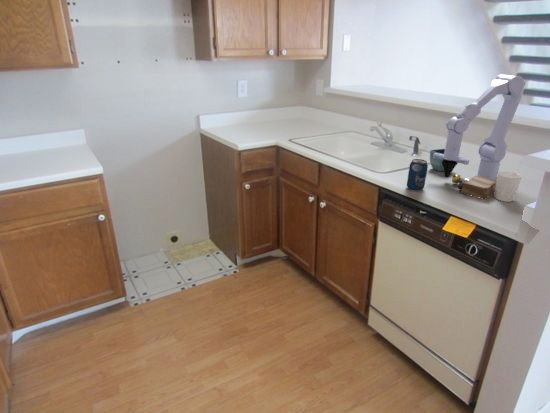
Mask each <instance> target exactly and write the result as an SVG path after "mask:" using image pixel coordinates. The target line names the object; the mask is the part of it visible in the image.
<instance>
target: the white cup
mask: <svg viewBox="0 0 550 413" xmlns="http://www.w3.org/2000/svg"><path fill="white" fill-rule="evenodd" d="M522 177H523V176H522V174H520V173H517V172H515V171H505V170H501V171H498V174H497V181H496V187H495V192H494V193H493V194H494V195H493V198H494V197H495V198H496V200H497V199H498V201H500V200H501V202H506V203H507V202H508V203H509V202H513V201H514V199H515V196H516V194H517V192H518V189H519V186H520V183H521V180H522ZM495 198H494V199H495Z"/></svg>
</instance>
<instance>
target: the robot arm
mask: <svg viewBox="0 0 550 413" xmlns="http://www.w3.org/2000/svg"><path fill="white" fill-rule="evenodd" d="M525 85H526V82H525V80H524V78H523V77H522V76H521V75H510V74H505V73H501V74H498V75H497V76H496V77H495V78H494V79H492V80H491V83H490V85H489V87H488V88H487V89H485V91H484V92H483V93H482V94H480V96H479V97H478V98H477V100H475V101H474V102H470V103H468V104H465V106H464V108H463V109H462V110H461V111H460V112H458V113H457V114H456V116H453V117H451V118H450V119H448V121H447V123H445V124H446V125H445V126H446V127H445V128H446V129H447V135H446V136H447V137H446V140H445V141H446V142H445V148H444V149H445V152H444V154H440V153H434V154H433V158H438V159H443V161H442V165H443V168H444V171H443V173H444V178H446V179H449V178H450V177H451V174H452V173H453V171H454V169H455V168H456V166H457V165H458V164H463V165H466V166H468V165H469V163H470V159H468V158H464V157H461V156H460V150H461V146H462V142H463V141H462V140H463V135H464V132H465V131H467V130H468V128H469V125H470V124H471V122H472V121H473V120H474V119H475V118H476V117H478V116H479V115H480V114H481V111H482V110H481V109H482V108H483V107H484V106H485V105H487V104H488V103H489V102H490V101H492V100H493V99H495V97H497V96H498V95H502V97H503V99H504V101H503V103H502V105H501V108H500V110H499V113H498V116H497V118H496V121H495V123H494V126H493V128H492V131H491V134H490V136H488V137H486V138H485V139H484V140H483V142H482V144H481V145H480V146H479V148H478V155H479V158H480V161H479V165H478V170H477V173H476V176H480V177H484V178H488V179H493V180H497V176H498V172H499V169H500V166H501V164H500V163H501V161H502V160H503V159H504V158H505V156H506V149H507V147H508V145H507V143H506V140H505V138H506V136H507V133H508V131H509V129H510V126H511V124H512V121H513V119H514V116H515V114H516V112H517V109H518V106H519V104H520V102H521V100H522V94H523V90H524V88H525Z"/></svg>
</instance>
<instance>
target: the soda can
mask: <svg viewBox="0 0 550 413" xmlns="http://www.w3.org/2000/svg"><path fill="white" fill-rule="evenodd" d="M428 166H429V165H428V161H427V160H425V159H420V158H415V159H414V158H413V159H412V160H411V162H410V164H409V167H408V172H407V173H408V174H407V181H406V187H407V189H408V190H409V189H410V191H412V192H421V191H423V189H425V185H426V180H427V173H428Z"/></svg>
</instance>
